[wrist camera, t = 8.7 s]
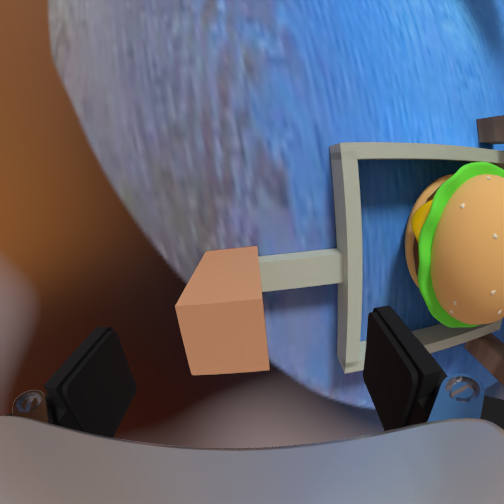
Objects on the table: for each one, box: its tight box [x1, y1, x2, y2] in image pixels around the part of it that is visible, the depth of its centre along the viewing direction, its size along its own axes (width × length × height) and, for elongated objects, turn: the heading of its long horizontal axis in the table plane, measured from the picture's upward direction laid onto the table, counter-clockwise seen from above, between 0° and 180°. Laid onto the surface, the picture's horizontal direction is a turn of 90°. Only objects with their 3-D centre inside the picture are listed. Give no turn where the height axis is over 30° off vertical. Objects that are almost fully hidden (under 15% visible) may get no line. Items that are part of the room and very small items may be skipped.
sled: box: [175, 142, 504, 375], centre depth 16 cm, size 26×16×9 cm, turn 96°
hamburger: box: [405, 162, 504, 328], centre depth 16 cm, size 12×12×9 cm
